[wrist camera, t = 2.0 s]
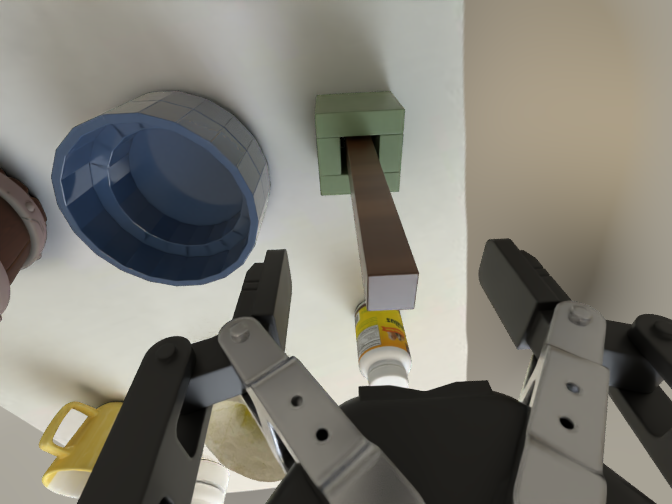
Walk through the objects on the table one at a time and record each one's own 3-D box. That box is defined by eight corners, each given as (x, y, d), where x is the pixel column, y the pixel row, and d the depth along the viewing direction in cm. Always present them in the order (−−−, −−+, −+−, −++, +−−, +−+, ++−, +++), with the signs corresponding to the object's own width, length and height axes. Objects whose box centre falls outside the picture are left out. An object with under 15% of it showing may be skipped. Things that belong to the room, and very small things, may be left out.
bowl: (249, 352, 45) (232, 427, 37) (323, 392, 51) (322, 464, 43) (189, 397, 51) (164, 469, 43) (262, 427, 57) (251, 496, 49)
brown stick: (343, 120, 28) (367, 275, 11) (364, 118, 28) (419, 272, 11) (343, 141, 29) (366, 311, 13) (364, 140, 29) (414, 309, 13)
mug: (168, 423, 56) (139, 497, 47) (111, 429, 56) (73, 503, 48) (124, 375, 48) (80, 454, 39) (58, 384, 48) (1, 463, 40)
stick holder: (316, 94, 26) (314, 113, 22) (390, 90, 26) (405, 108, 22) (321, 165, 30) (320, 195, 25) (387, 162, 30) (399, 191, 25)
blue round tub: (79, 93, 26) (5, 119, 20) (255, 84, 26) (234, 107, 20) (146, 240, 34) (108, 289, 28) (281, 233, 34) (271, 281, 28)
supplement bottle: (406, 315, 42) (427, 390, 33) (368, 332, 43) (378, 408, 35) (385, 288, 39) (400, 363, 31) (345, 307, 41) (350, 384, 32)
